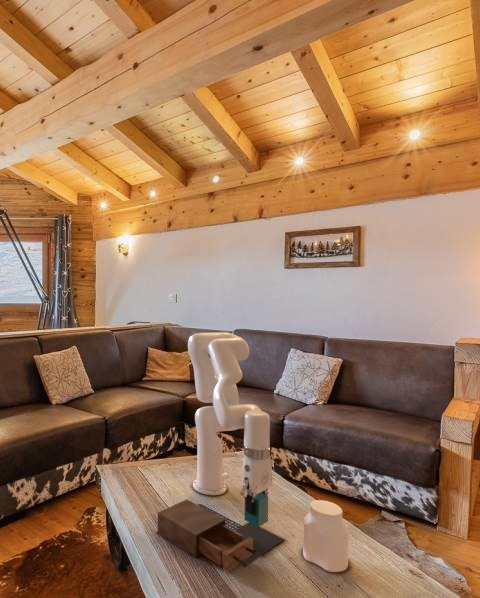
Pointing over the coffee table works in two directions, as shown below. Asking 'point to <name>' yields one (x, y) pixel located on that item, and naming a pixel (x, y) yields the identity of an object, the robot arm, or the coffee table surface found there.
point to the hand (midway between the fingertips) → (256, 509)
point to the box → (258, 510)
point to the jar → (326, 536)
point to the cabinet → (187, 524)
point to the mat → (260, 537)
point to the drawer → (227, 547)
